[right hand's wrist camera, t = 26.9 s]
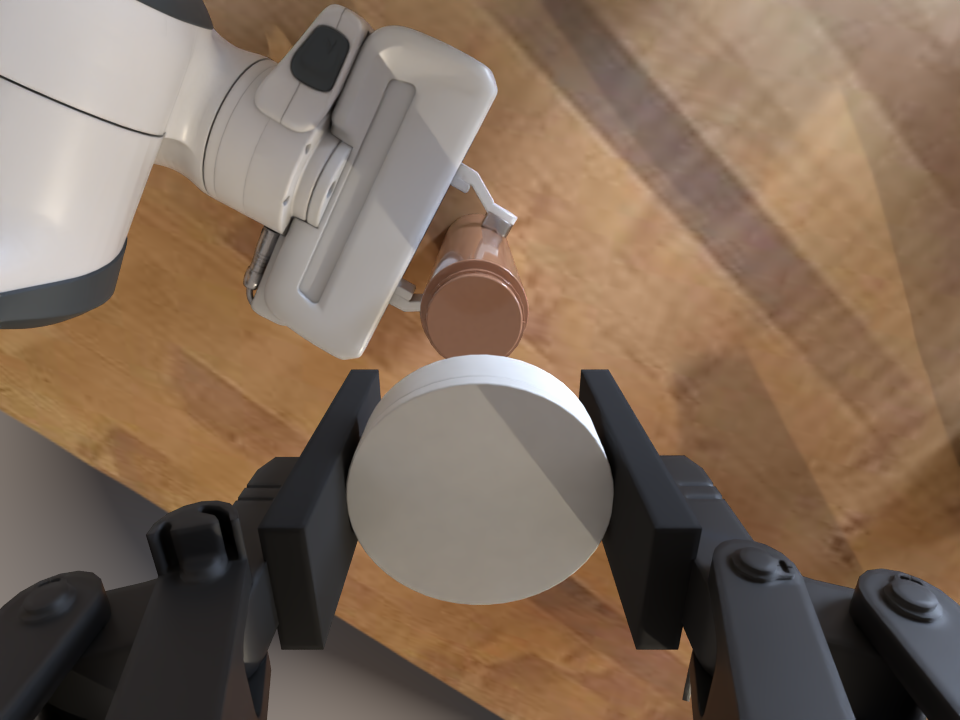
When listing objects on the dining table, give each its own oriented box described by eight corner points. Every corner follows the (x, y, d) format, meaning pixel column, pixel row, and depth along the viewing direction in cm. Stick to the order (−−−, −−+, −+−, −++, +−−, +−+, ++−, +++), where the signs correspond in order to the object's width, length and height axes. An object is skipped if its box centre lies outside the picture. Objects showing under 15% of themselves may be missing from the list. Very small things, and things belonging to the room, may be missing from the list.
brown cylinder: (439, 273, 41) (411, 367, 23) (447, 209, 39) (423, 257, 21) (501, 282, 41) (520, 382, 23) (512, 219, 39) (541, 275, 21)
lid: (646, 471, 12) (667, 513, 11) (471, 590, 14) (470, 641, 12) (490, 301, 11) (492, 324, 9) (311, 455, 12) (288, 496, 11)
